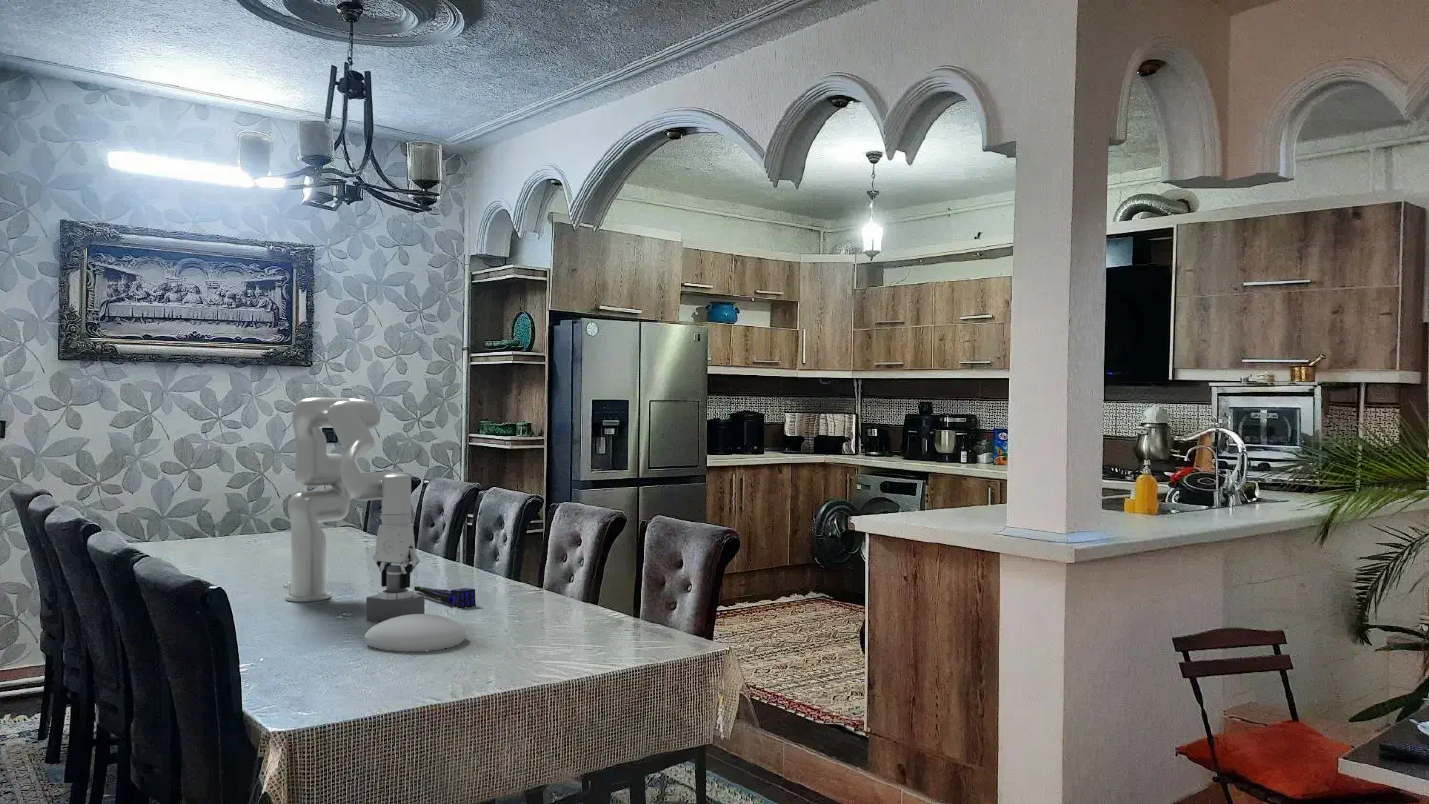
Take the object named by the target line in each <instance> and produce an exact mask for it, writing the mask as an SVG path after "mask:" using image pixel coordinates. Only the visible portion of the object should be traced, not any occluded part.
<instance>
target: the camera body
mask: <svg viewBox="0 0 1429 804" xmlns="http://www.w3.org/2000/svg"><path fill="white" fill-rule="evenodd" d="M425 595H426V594H416V593H414V589H413V588H411V587H409V588H406V592H401V593H386V588H382V589H380V590H378V591H377V594H374V595H370V596H367V597H366V606H365V607H366V610H365V611H366V612H365V614H366V615H365V617H366V618H365V619H366V620H368V621H375V622H380V623H381V622H383V621H385V620H388V619H391V618H394V617H398V616H403V615H410V614H425V607H426V606H425V604H426V603H425V599H426V598H425Z"/></svg>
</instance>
